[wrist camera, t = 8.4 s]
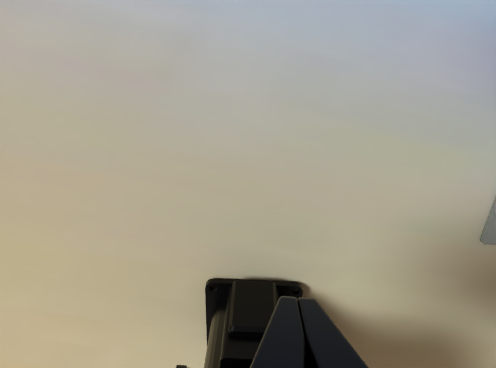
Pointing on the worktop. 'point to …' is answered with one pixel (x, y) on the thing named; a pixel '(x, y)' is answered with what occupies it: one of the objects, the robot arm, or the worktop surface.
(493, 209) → the grey mat
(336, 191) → the worktop surface
